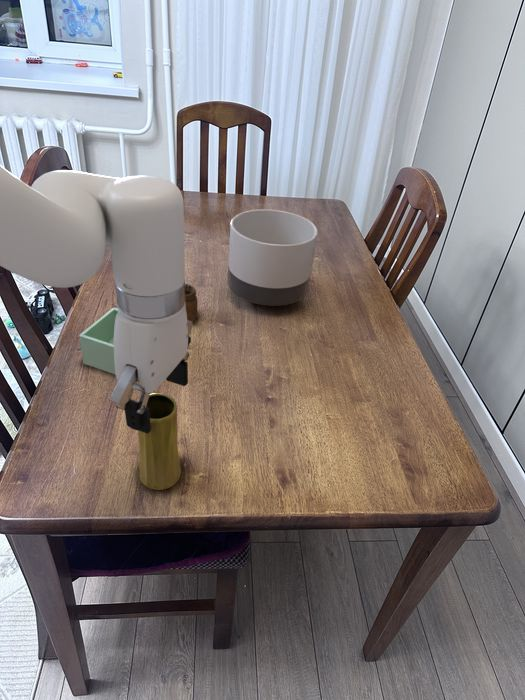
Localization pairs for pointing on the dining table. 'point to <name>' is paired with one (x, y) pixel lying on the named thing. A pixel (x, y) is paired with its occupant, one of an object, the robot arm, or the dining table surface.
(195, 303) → the utensil holder
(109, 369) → the bin
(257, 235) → the planter
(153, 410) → the vase
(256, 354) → the dining table surface
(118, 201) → the robot arm
